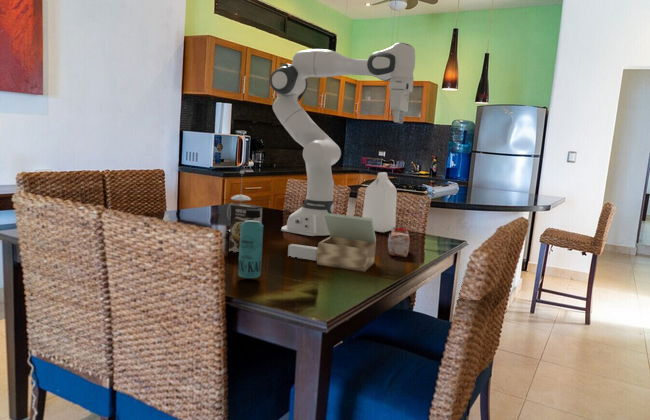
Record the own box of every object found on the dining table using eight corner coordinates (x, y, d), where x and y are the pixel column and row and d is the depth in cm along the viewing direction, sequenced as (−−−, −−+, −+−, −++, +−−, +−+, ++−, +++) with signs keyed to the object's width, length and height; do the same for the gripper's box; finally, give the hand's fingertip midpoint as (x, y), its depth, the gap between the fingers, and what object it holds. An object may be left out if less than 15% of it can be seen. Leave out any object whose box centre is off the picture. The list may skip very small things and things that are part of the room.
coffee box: (228, 251, 171) (229, 204, 169) (237, 248, 177) (239, 202, 175) (252, 255, 168) (254, 207, 166) (260, 251, 174) (263, 205, 172)
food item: (409, 258, 179) (412, 231, 177) (387, 256, 179) (389, 229, 178) (407, 250, 192) (409, 224, 191) (386, 248, 193) (388, 223, 191)
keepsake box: (316, 264, 162) (318, 242, 161) (328, 256, 173) (330, 236, 172) (364, 271, 157) (366, 249, 156) (374, 263, 168) (375, 242, 167)
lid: (323, 215, 163) (324, 212, 164) (331, 238, 173) (331, 236, 174) (371, 220, 158) (372, 218, 159) (375, 244, 168) (376, 242, 169)
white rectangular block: (287, 256, 170) (288, 245, 170) (291, 255, 173) (292, 243, 172) (315, 261, 167) (316, 249, 166) (318, 259, 170) (319, 247, 169)
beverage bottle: (238, 276, 143) (241, 206, 140) (261, 277, 143) (265, 207, 141) (236, 283, 136) (239, 210, 134) (260, 284, 137) (264, 211, 134)
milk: (373, 225, 242) (378, 171, 238) (395, 229, 235) (400, 173, 231) (360, 228, 232) (364, 171, 228) (382, 232, 226) (387, 174, 222)
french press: (256, 232, 207) (259, 171, 203) (237, 236, 197) (240, 172, 193) (238, 228, 212) (241, 169, 208) (218, 232, 202) (221, 169, 199)
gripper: (398, 89, 206) (395, 123, 208) (388, 83, 187) (385, 121, 189) (413, 89, 204) (410, 124, 206) (405, 83, 185) (401, 122, 187)
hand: (398, 122), depth 198 cm, fingers open, 8 cm apart
